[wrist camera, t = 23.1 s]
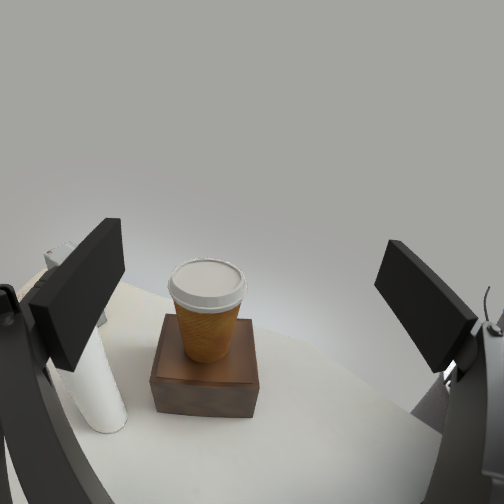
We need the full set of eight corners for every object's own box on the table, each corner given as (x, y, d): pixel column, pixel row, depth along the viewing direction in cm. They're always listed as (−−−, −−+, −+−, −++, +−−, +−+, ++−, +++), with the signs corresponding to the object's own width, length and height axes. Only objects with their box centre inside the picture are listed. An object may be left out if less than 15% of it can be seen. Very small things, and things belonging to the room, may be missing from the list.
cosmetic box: (107, 321, 50) (94, 250, 43) (81, 339, 44) (61, 266, 37) (85, 304, 53) (71, 237, 46) (60, 319, 48) (41, 250, 41)
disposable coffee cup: (238, 326, 43) (246, 258, 38) (241, 374, 35) (251, 302, 30) (176, 322, 42) (174, 253, 37) (168, 369, 34) (160, 296, 28)
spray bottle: (119, 393, 37) (80, 247, 25) (133, 427, 32) (85, 281, 21) (82, 402, 33) (24, 259, 22) (92, 438, 28) (16, 295, 17)
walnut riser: (246, 352, 49) (251, 318, 46) (252, 417, 37) (259, 387, 33) (168, 347, 48) (165, 312, 44) (157, 412, 35) (149, 380, 32)
